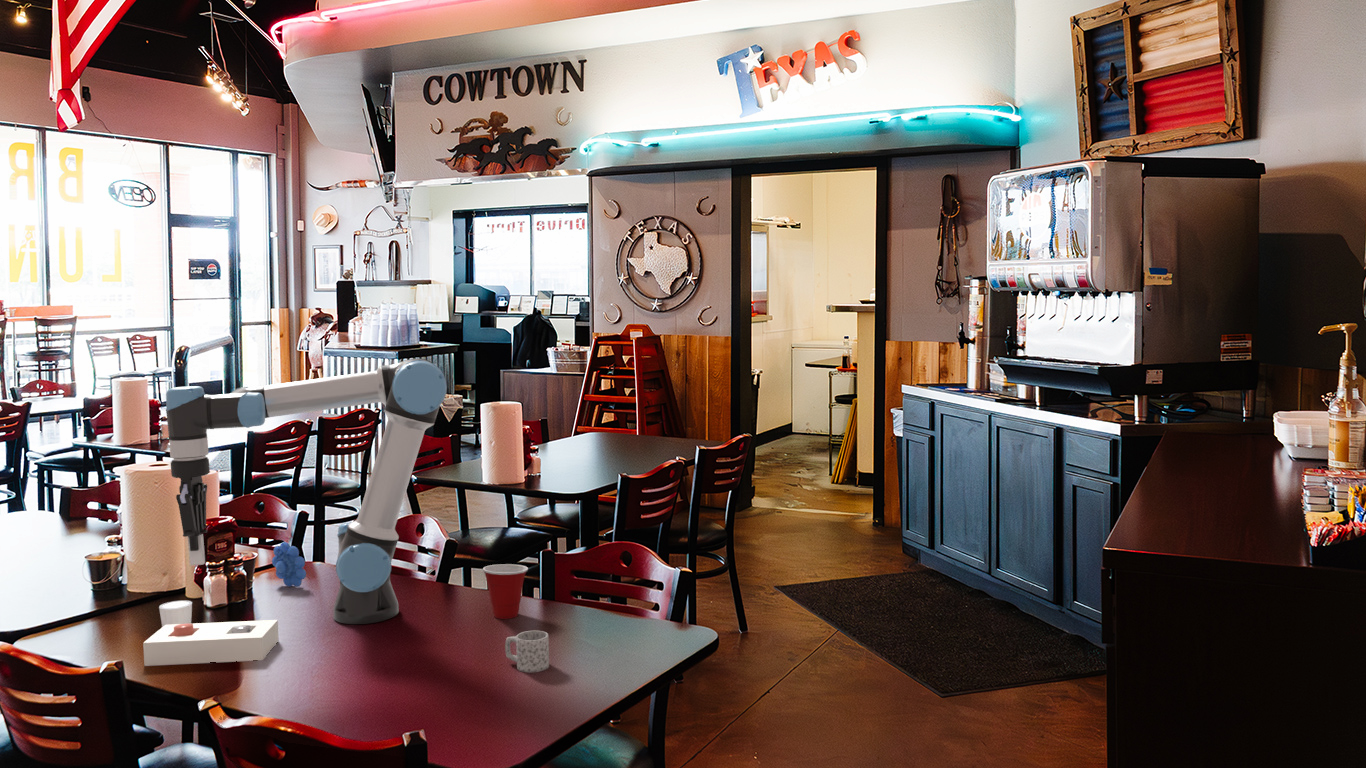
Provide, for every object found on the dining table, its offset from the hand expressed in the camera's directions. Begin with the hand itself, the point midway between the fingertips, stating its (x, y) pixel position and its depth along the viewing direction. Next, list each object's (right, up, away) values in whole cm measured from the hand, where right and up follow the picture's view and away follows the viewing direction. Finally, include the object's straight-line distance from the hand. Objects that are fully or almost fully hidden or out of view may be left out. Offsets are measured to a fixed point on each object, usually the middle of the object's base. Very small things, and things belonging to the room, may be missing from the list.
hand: (197, 564), depth 222 cm
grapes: (0, -15, +49) cm, 52 cm away
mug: (+74, -20, -11) cm, 77 cm away
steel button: (+10, -19, -1) cm, 21 cm away
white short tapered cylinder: (-10, -18, +12) cm, 24 cm away
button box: (+4, -19, -1) cm, 20 cm away
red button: (-2, -18, -2) cm, 18 cm away
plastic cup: (+64, -17, +23) cm, 70 cm away
